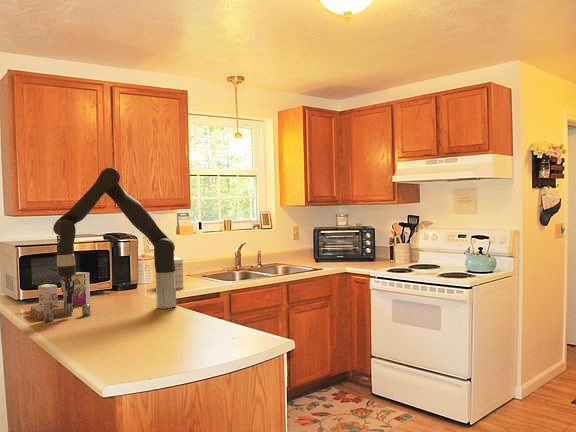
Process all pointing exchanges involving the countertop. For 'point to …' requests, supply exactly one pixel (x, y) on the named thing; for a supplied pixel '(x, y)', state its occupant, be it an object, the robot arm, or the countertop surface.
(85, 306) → the short pin
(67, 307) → the long pin
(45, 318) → the medium pin
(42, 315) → the hole board
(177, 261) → the supplement box
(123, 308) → the countertop surface
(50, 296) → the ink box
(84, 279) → the candy bar box
